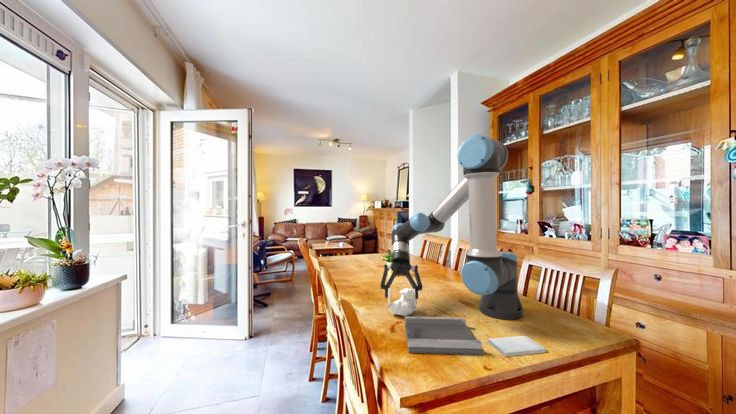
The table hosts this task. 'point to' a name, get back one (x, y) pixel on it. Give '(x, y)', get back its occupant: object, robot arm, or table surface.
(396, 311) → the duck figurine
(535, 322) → the table surface
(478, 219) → the robot arm
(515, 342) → the hard drive
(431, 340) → the rail plate
